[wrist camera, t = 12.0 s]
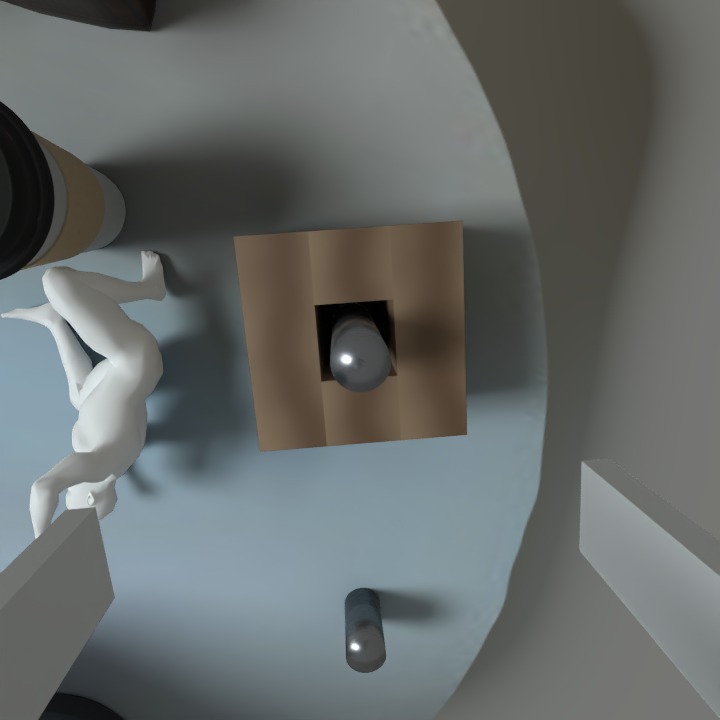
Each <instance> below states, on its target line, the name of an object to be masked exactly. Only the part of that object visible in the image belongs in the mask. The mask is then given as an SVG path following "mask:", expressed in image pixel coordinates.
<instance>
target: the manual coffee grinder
mask: <svg viewBox="0 0 720 720" xmlns="http://www.w3.org/2000/svg"><path fill="white" fill-rule="evenodd" d="M1 1H5V2H8V3H11V4H14V5H17V6H20V7H23V8H26V9H29V10H32V11H35V12H38V13H41V14H46V15H50V16H54V17H59V18H63V19H68V20H72V21H77V22H81V23H86V24H91V25H95V26H100V27H105V28H109V29H125V30H141V31H150V28H151V24H152V20H153V16H154V12H155V8H156V0H1Z"/></svg>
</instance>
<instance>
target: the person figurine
mask: <svg viewBox="0 0 720 720" xmlns="http://www.w3.org/2000/svg"><path fill="white" fill-rule="evenodd" d="M141 256H142V263H143V278H142V279H141V280H140V281H139V282H127V281H124V280H120V279H117V278H114V277H110V276H107V275H104V274H100V273H94V272H82V271H77V270H74V269H72V268H69V267H53V268H51V269H48V270H46V272H45V274H44V276H43V278H42V280H43V285H44V291H45V294H46V295H47V297H48V299H49V301H50V302H49V303H46V304H44V305H41V306H38V307H34V308H29V309H15V310H13V311H10V312H7V313H3V314H1V315H2V318H7V317H10V318H21V319H25V320H29V321H33V322H37V323H40V324H42V325H44V326H46V327H48V328H49V329H50V330H51V332H52V334H53V336H54V337H55V339H56V343H57V346H58V349H59V352H60V356H61V359H62V362H63V365H64V368H65V371H66V374H67V378H68V383H69V392H70V400H71V402H72V404H73V405H74V406H75V407H76V409H77V410H80V412H79V420H78V421H77V422H76V424H75V426H74V428H73V430H72V446H73V448H74V450H75V452H74V453H72V454H70V455H68V456H66V457H65V458H64V459H62V460H61V461H60V462H58V463H57V464H56V465H55V466H54V467H53V468H52V469H51V470H50V471H49V472H48V473H46V474H45V475H43V476H42V477H40V478H38V479H37V480H36V481H35V482H34V484H33V486H32V488H31V498H30V507H29V508H30V513H31V517H32V522H33V527H34V532H35V538H38V537H39V536H40V535H41V534H42V533H43V532H44V531H45V530H46V529H47V528H48V527H49V526H50V524H51V520H52V517H53V515H54V512H55V510H56V508H57V505H58V503H59V493H60V492H61V491H63V490H64V489H66V488H68V492H67V494H66V506H67V507H68V509H69V510H70V509H80V508H91V507H96V511H97V516H98V520H101V519H102V518H104V517H105V516H106V515H108V514H109V513H111V512H112V511H113V509H114V507H115V504H116V502H117V500H118V498H117V494H116V491H115V483H116V479H118V478H119V477H121V476H122V475H124V474H125V472H126V471H127V470H128V468H129V467H130V466H131V465H132V464H133V463H134V462H135V460H136V459H137V458H138V457H139V455H140V453H141V451H142V449H143V447H144V445H145V438H146V428H147V415H148V414H147V409H146V403H145V399H146V398H147V397H148V396H149V395H150V394H151V393H152V392H153V390H154V388H155V387H156V385H157V383H158V381H159V380H160V378H161V376H162V374H163V364H162V356H161V353H160V351H159V350H158V344H157V340H156V338H155V337H154V336H153V335H152V334H151V333H150V332H149V331H148V330H147V329H146V328H145V327H144V326H143V325H142V324H140V323H138V322H136V321H134V320H132V319H130V318H129V317H128V316H127V315H126V313H125V312H124V311H123V310H122V309H121V307H120V306H119V305H118V304H121V303H127V302H132V301H138V300H144V299H152V300H158V301H162V300H163V298H164V297H165V295H166V290H165V283H164V275H163V266H162V264H161V261H160V257H159V255H157V254H156V253H153V251H147V252H146V251H142V253H141ZM65 319H66V320H67V321H68V322H69V323H70V324H71V326H72V327H73V328H74V329H75V331H76V332H77V333H78V335H79V336H80V337H81V338H82V340H83V341H84V342H85V343H86V344H87V345H88V346H90V347H91V348H92V349H93V350H94V351H96V352H97V353H99V354H101V355H103V356H105V357H107V359H105V360H103V361H102V362H100V363H98V364H97V365H96V366H95V368H94V369H93V367H92V360H91V359H90V358H89V356H88V355H87V353H86V352H85V351H84V349H83V348H82V346H81V345H80V343H79V342H78V340H77V338H76V337H75V335H74V334H73V332H72V330H71V329H70V327H69V326H68V324H67V322H66V321H65Z"/></svg>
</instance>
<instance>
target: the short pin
mask: <svg viewBox="0 0 720 720" xmlns="http://www.w3.org/2000/svg"><path fill="white" fill-rule="evenodd" d="M345 633H346V660H347V663H348V665H349V666H350V667H351V668H352V669H354V670H355V671H358V672H362V673H368V672H373V671H375V670H377V669H378V668H380V667H381V666H382V665H383V663H384V661H385V659H386V651H385V642H384V634H383V626H382V618H381V610H380V602H379V598H378V596H377V594H376V593H375V592H374V591H372V590H370V589H367V588H359V589H355V590H353V591H352V592H350V593H349V594H348V596H347V597H346V599H345Z"/></svg>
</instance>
